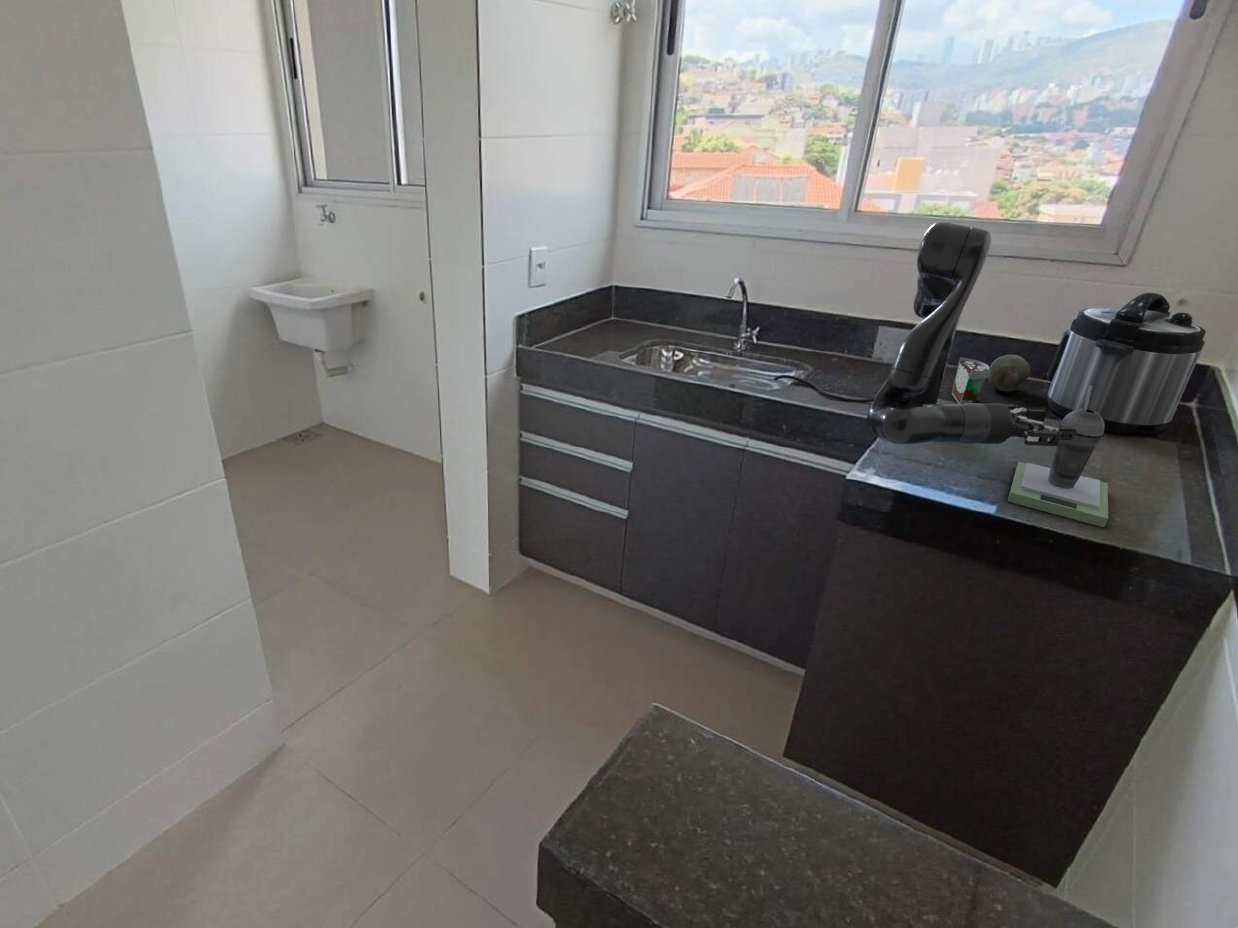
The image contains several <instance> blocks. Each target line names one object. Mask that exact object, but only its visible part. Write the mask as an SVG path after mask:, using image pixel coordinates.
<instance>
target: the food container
mask: <svg viewBox="0 0 1238 928" xmlns="http://www.w3.org/2000/svg"><path fill="white" fill-rule="evenodd" d="M957 365H958V366H957V370H956V374H955V378H954V382H953V386H952V390H951V395H952V397H953V398H954V400H955V401H956V402H957V404H965V403H977V401H978V400H979V399H978V398H979V397H980V394H981V391H982V388H983V385H984V383H985V381H986V379H988V377H989V373H990V370H989V367H990V365H988V364H986V363H985V362H982V361H979V360H976V359H972V358H968V357H960V358H959V361H958V363H957Z"/></svg>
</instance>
